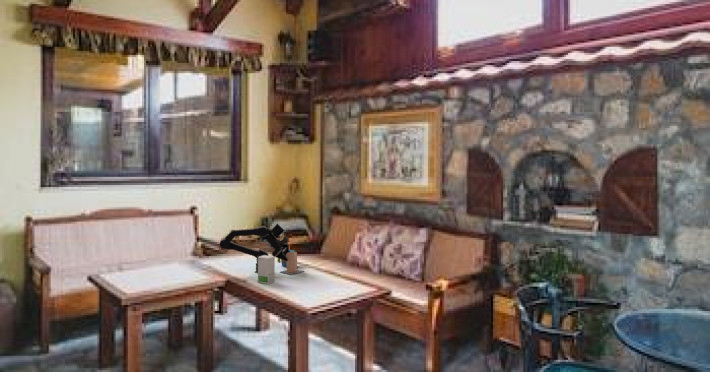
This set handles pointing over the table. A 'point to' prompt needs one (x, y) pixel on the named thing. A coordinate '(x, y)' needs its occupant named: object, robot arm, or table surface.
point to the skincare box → (266, 269)
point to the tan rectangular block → (291, 261)
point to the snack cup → (284, 260)
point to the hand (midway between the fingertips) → (289, 259)
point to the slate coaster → (291, 272)
